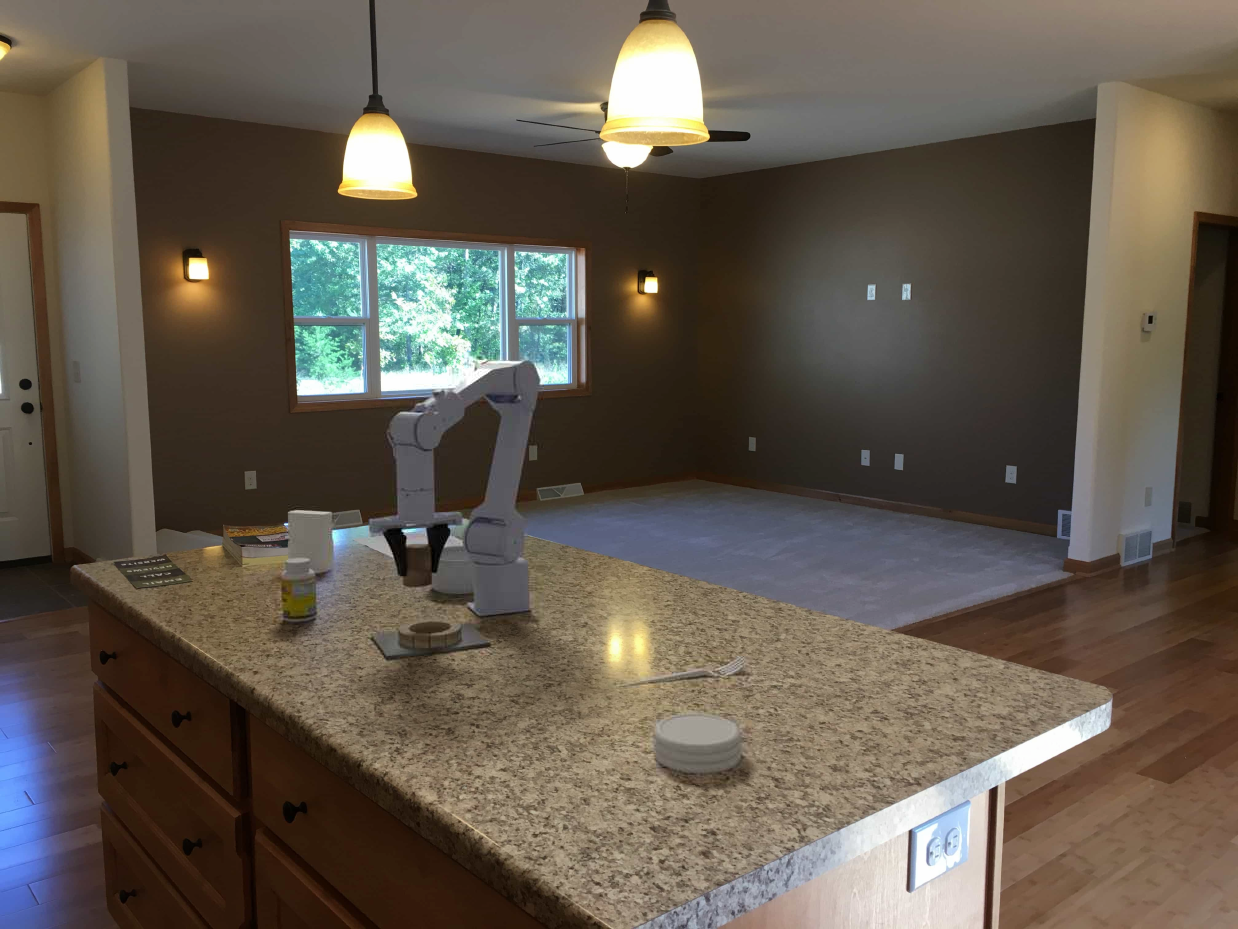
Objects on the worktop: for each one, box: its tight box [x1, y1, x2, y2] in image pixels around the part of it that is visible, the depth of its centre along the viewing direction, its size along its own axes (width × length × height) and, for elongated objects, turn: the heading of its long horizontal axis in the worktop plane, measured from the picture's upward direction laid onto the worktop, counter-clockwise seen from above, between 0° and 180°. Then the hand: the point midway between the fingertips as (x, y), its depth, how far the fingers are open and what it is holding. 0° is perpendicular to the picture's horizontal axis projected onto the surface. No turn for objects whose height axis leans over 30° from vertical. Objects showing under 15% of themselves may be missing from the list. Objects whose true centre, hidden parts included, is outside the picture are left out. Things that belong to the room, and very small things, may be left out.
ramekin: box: [430, 545, 474, 595], centre depth 188 cm, size 13×13×7 cm
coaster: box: [652, 712, 743, 775], centre depth 111 cm, size 10×10×4 cm
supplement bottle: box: [280, 558, 318, 623], centre depth 165 cm, size 6×6×10 cm
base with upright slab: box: [287, 509, 335, 574], centre depth 202 cm, size 9×9×12 cm
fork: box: [619, 656, 749, 687], centre depth 137 cm, size 3×20×2 cm, turn 111°
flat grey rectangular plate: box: [370, 618, 492, 660], centre depth 153 cm, size 16×12×2 cm
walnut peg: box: [402, 543, 432, 588], centre depth 154 cm, size 4×4×6 cm
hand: (417, 573), depth 154 cm, fingers closed on walnut peg, 4 cm apart
